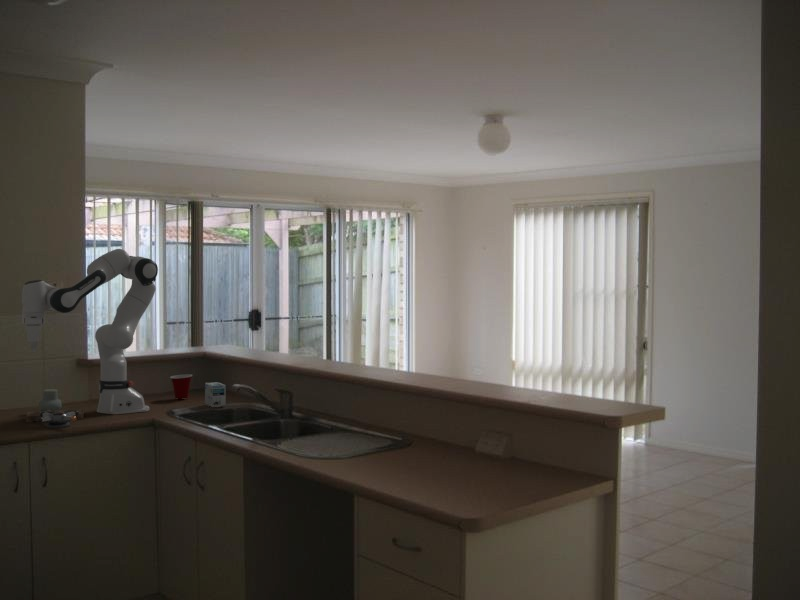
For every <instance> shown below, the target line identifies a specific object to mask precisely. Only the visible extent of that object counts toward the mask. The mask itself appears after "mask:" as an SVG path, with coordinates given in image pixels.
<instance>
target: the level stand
mask: <svg viewBox="0 0 800 600" xmlns="http://www.w3.org/2000/svg"><path fill="white" fill-rule="evenodd" d="M75 410H76V411H78V412H79V413H78V415H77V416H75V417H76V420H84V418H85V417H84V414H85V413H84V409H83V408H82V409H81V408H80V409H79V408H78V409H64V410H63V409H61V410H59V411H51V410H47V411H40V410H39V411H28V412H27V411H26V415H25V418H26V419H25V423H34V422H33V421H36V419H37V418H39V417H40V418H42V417H41V416H40V413H41V412H45V413H53V412H64V413H68V412H73V411H75Z"/></svg>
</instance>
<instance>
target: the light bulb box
mask: <svg viewBox="0 0 800 600" xmlns="http://www.w3.org/2000/svg"><path fill="white" fill-rule="evenodd" d="M226 386H227V385H226V384H223V383H221V382H218V381H216V382H205V383H204V404H205V403H206V404H209V405H211V406H216V405H225V404H226V399H227V398H226V397H227V394H226V393H227V392H226Z"/></svg>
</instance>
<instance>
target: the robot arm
mask: <svg viewBox="0 0 800 600" xmlns="http://www.w3.org/2000/svg"><path fill="white" fill-rule="evenodd" d="M158 267H159V266H158V264H157V263H156V262H155V261H154V260H153V259H151V258H148V257H145V256H144V257H143V256H139V255H138V256H133V255H129V253H128V252H127V251H126V250H125V249H122V248H115V249H112V250H110V251H108V252H106V253H104V254H102V255H100V256H98V257H97V258H95V259H94V260H93V261H91V262H90V264H88V265H87V268H86V276H85V277H84V278H82V279H80V280H79V281H78V282H76V283H75V284H73V285H72V286H69V287H64V288H59V287H56V286H53V285H51V284H49V283H47V282H46V281H44V280H43V279H35V280H34V279H33V280H29V281H25V283H24V284H23V288H22V293H21V303H22V312H21V319H22V320H21V324H23V325H25V328H26V335H27V342H28V344H30V348H31V353H32V354H36V353H37V351H38V350H37V349H38V348H37V347H38V346H37V345H38V344H39V341H40V333H41V328H43V325H44V324H46V323H47V322H46V320H47V318H46V317H47V310H50V311H54V312H59V313H63V314H68V313H71V312H72V311H73V310H75V309H76V307H77V306H78V304H79V303H80V302H81V300H82V299H84V298H85V297H86V296H88V295H89V294H91V293H92V292H94V291H95V290H97V289H98V288H99V287H101V286H102V285H104V284H106V283H108V282H110V281H112V280H113V279H115V278H116V277H118V276H119V275H121V276H122V277H123V278H125V279H128V280H131V285H130V287H129V289H128V290H127V292H126V294H125V295H124V297H123V298H122V299H121V302H120V303H119V305H118V306H117V308H116V311H115V312H116V313H115V316H114V318H113V321H112V323H107V324H103V325H101V326H99V327H98V328H97V329H96V331H95V332H94V333H95V334H94V338H95V341H96V344H97V350H98V351H97V352H98V357H99V362H100V380H99V383H98V384H99V386H98V388H99V400H98V405H97V407H96V408H97V409H96V412H97V413H99V414H110V415H121V414H133V413H142V412H143V413H144V412H145V413H146V412H148V411H150V406H149V405H146V404H145V399H144V396H143V394H141V393H140V392H138V391H137V390H135V389H134V388H133V387H132V386H133V385H134V382H133V381H132V380H129V379H128V378H127V377H128V376H127V372H128V370H127V367H128V366H127V365H128V364H127V360H126V357H125V352H124V350H126V349H128V348H130V347H131V346H132V345H133V342H134V334H135V332H136V329H137V326H138V324H139V322H140V320H141V319H142V317H143V316H144V313H145V312H146V310H147V309H148V307H149V306H150V304H151V302H152V300H153V297H154V295H155V294H156V289H157V287H156V285H155V284H154V283H155V282H156V280H157V279H156V278H157V276H158V271H159V269H158Z"/></svg>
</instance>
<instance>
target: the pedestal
mask: <svg viewBox="0 0 800 600" xmlns="http://www.w3.org/2000/svg"><path fill="white" fill-rule="evenodd" d="M70 426H71V422H69V421H67V423H66V424H61V425H50V424H48V423H45V428H46V427H47V428H46V429H50V428H58V429H66V428H69V427H70ZM65 427H66V428H65Z"/></svg>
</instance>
